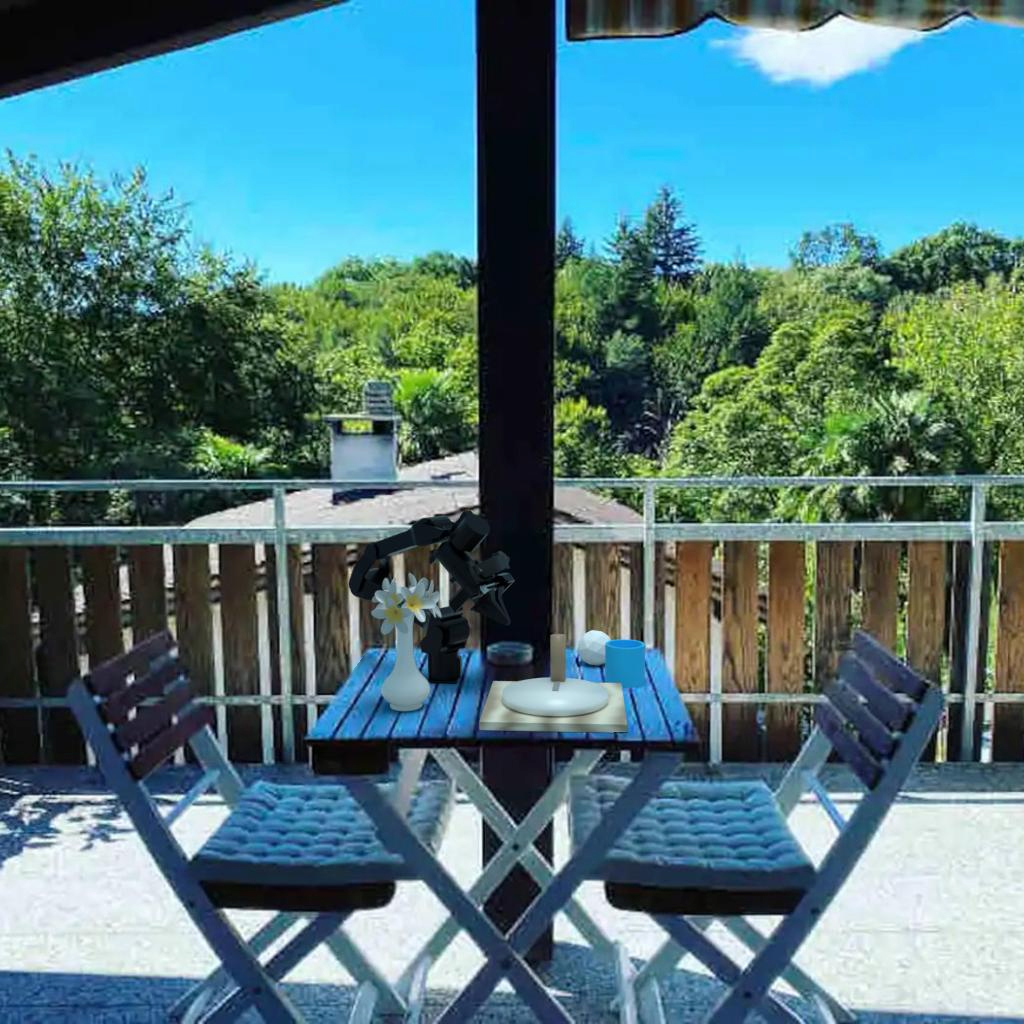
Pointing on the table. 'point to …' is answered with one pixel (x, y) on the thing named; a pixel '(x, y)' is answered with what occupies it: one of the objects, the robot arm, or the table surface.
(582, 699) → the dial
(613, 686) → the dial board
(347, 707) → the table surface
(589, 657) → the ball
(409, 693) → the flower vase
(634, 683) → the mug
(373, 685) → the table surface
